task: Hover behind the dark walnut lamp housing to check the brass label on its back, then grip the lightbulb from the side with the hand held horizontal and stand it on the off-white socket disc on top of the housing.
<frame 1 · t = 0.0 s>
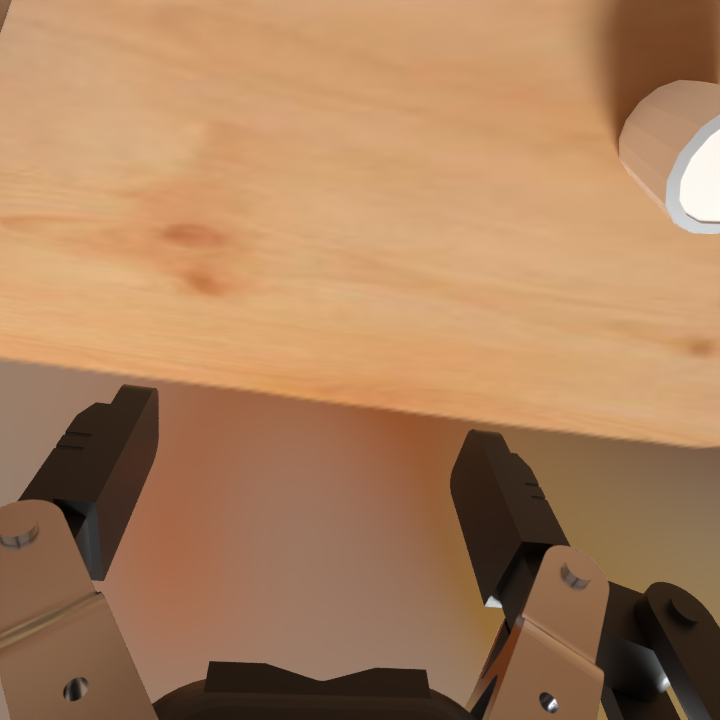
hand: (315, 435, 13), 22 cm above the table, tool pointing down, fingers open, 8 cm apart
shot glass: (664, 131, 30), on the table
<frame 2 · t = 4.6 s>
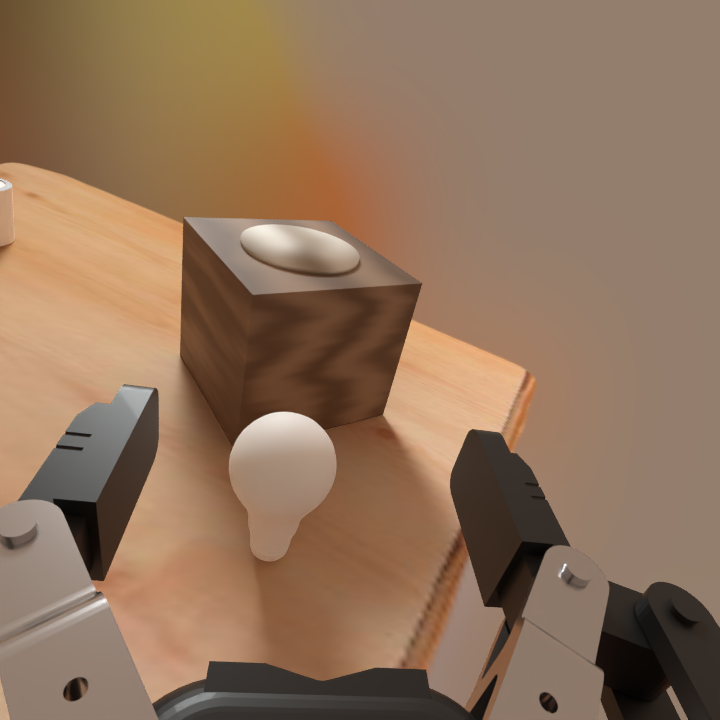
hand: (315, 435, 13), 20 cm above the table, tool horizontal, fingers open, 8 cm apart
lamp housing: (280, 383, 48), on the table
lightbulb: (267, 554, 32), on the table
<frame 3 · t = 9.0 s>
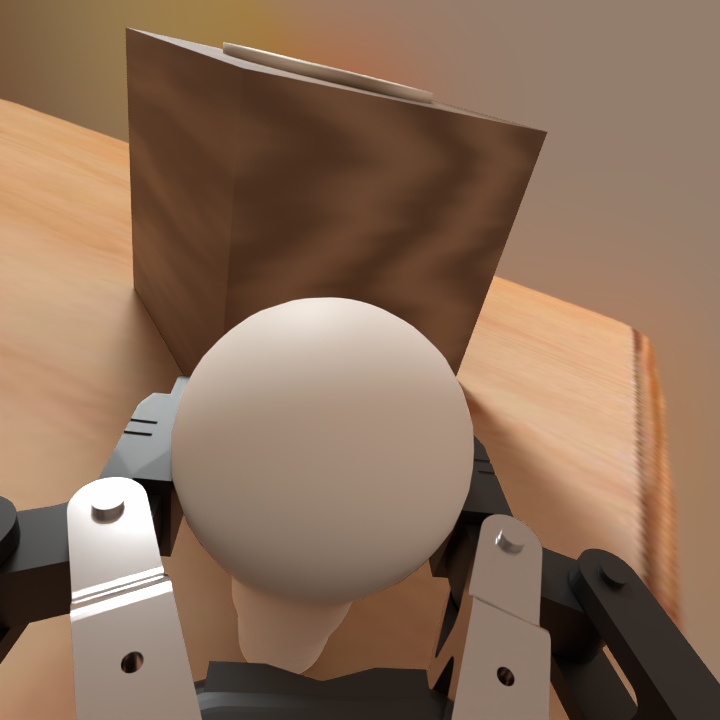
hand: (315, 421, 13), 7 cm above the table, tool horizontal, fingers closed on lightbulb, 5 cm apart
lamp housing: (291, 330, 30), on the table
lightbulb: (278, 649, 14), on the table, touching gripper
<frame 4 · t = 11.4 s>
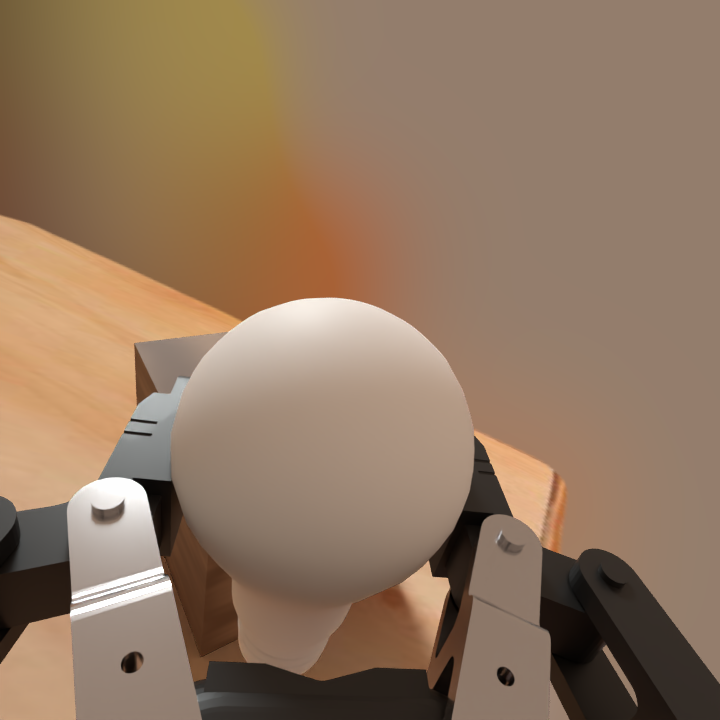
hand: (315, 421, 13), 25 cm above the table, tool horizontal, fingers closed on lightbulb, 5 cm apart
lamp housing: (262, 525, 39), on the table
lightbulb: (278, 650, 14), point 18 cm above the table, touching gripper
when the fingers open (22 cm above the table, at t = 13.7 s): lightbulb stays where it is, resting on lamp housing.
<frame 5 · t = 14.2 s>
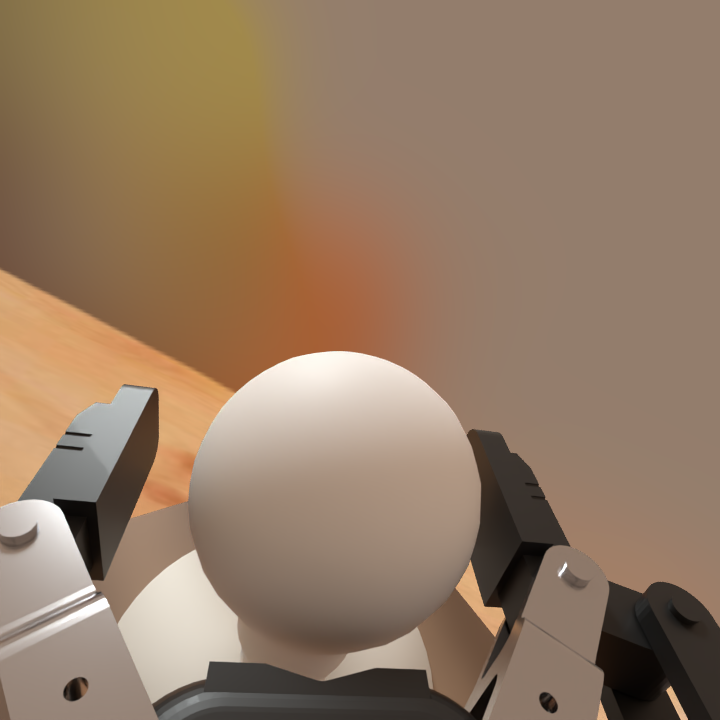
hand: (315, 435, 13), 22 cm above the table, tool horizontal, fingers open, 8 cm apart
lightbulb: (278, 679, 15), point 14 cm above the table, touching lamp housing
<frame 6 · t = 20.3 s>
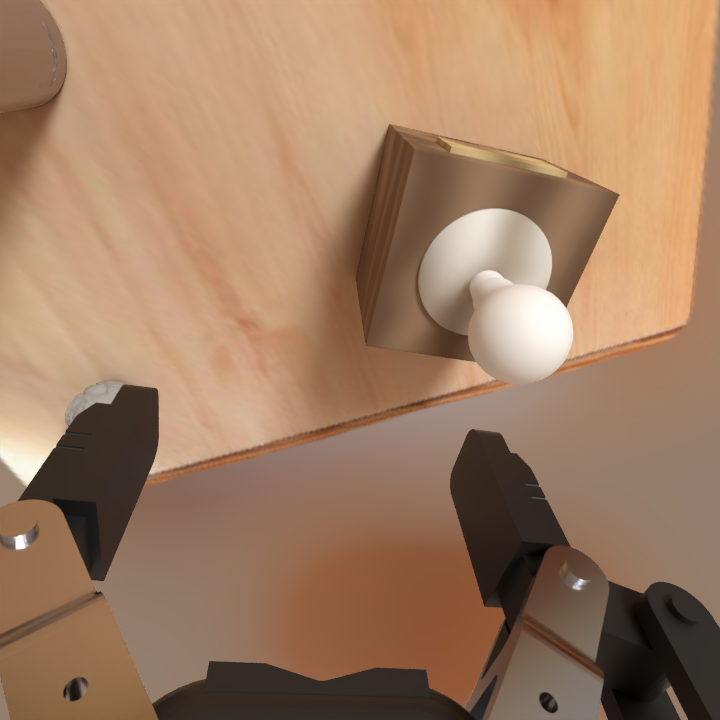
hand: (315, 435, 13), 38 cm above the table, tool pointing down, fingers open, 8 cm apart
lamp housing: (444, 222, 48), on the table
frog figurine: (118, 388, 57), on the table
lightbulb: (482, 280, 37), point 14 cm above the table, touching lamp housing
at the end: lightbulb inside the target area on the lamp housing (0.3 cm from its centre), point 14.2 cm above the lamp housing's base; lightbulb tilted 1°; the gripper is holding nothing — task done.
